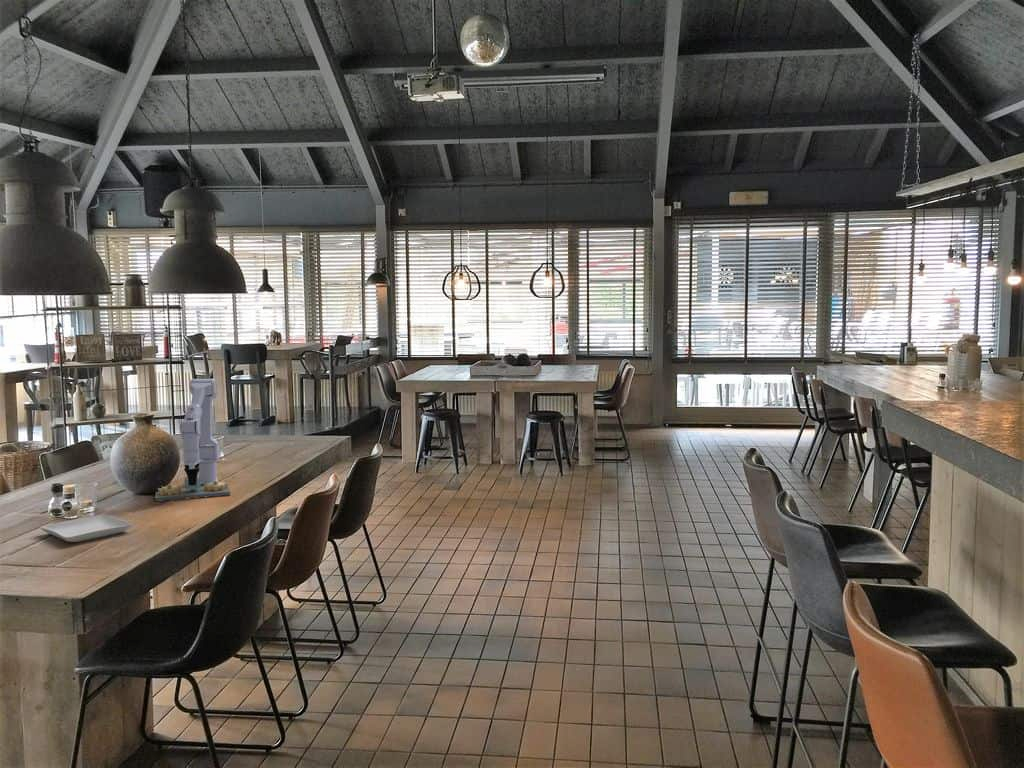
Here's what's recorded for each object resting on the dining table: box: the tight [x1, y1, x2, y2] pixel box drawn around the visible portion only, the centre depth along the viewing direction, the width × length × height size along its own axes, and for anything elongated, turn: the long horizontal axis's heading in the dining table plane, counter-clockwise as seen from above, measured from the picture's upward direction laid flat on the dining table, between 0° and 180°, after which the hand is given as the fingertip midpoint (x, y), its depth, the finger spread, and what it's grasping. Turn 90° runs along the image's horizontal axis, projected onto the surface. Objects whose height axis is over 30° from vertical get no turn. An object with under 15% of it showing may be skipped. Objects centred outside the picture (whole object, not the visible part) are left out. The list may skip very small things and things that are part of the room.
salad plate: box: [40, 513, 133, 543], centre depth 264 cm, size 21×21×3 cm
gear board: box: [154, 480, 231, 501], centre depth 317 cm, size 14×27×5 cm, turn 112°
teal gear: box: [184, 475, 202, 489], centre depth 317 cm, size 6×6×4 cm
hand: (192, 483), depth 317 cm, fingers closed on teal gear, 6 cm apart
